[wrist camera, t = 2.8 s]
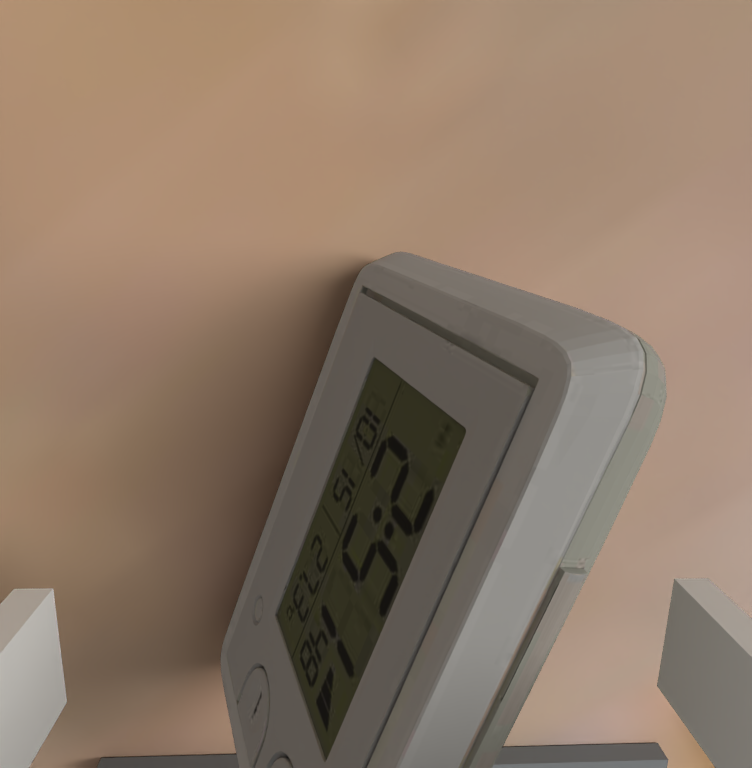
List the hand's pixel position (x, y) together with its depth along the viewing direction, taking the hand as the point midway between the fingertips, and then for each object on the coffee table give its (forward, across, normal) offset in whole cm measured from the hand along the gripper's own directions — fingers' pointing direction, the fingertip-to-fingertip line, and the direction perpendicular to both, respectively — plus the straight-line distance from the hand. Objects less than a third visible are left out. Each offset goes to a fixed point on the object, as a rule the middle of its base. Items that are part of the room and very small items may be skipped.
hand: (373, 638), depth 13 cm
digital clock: (+9, 0, 0) cm, 9 cm away
